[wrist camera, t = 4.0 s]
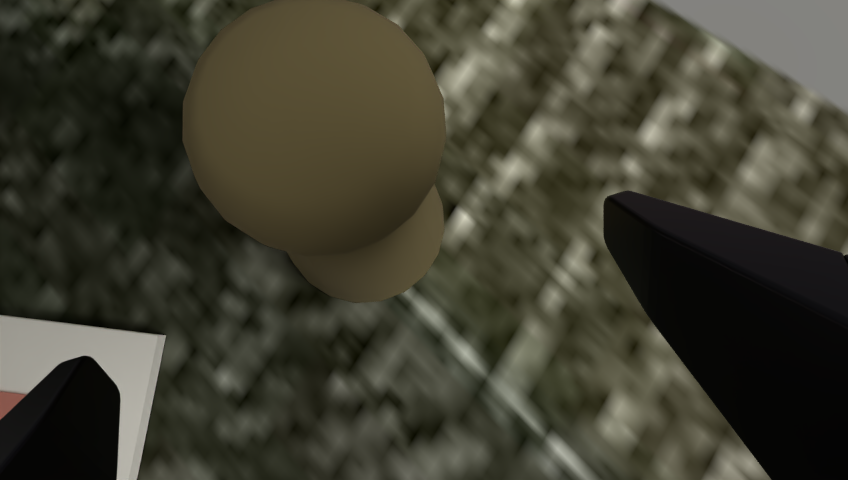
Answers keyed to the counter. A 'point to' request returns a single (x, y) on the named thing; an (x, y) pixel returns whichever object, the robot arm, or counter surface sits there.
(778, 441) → the robot arm
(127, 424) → the letter board
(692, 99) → the counter surface
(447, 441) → the counter surface
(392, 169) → the cork
